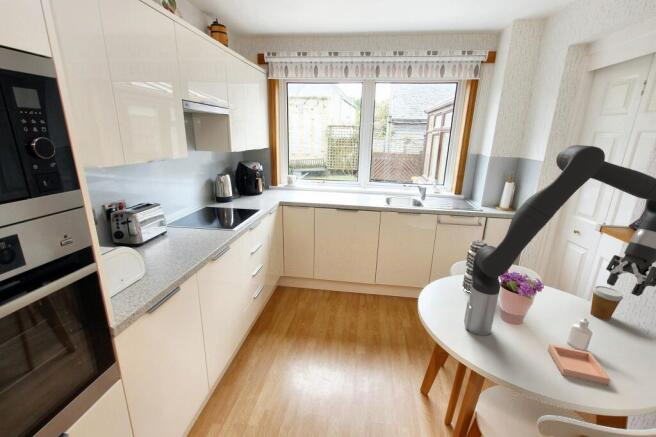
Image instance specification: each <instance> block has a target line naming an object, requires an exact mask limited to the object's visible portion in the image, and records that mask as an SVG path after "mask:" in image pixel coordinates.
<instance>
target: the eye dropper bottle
mask: <svg viewBox="0 0 656 437" xmlns="http://www.w3.org/2000/svg"><path fill="white" fill-rule="evenodd" d="M589 324H590V322H589V321H588V318H587V317H586V316H585V317H584V318H583V319H582V318H581V319H579V322H578V323H574V324H572V325H571V327H570V331H569V335H568V337H567V340H566V342H567V344H568V345H570V346H571V347H572V348H573V349H576V350H581V351H586V352H587V350H588V348H589V345H590V343H591V340H592V336H593V332H592V330H591V329H590V328H589Z"/></svg>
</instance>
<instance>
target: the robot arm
mask: <svg viewBox="0 0 656 437" xmlns="http://www.w3.org/2000/svg"><path fill="white" fill-rule="evenodd" d="M555 159H556V160H555V161H556V166H557V167H558V168H559V170H561V172H560V174H559V175H558V176H557V177H556V178H555V179H554V180H553V181H552V182H551V183H549V184H548V185H546V187H544V188H542V189H540V190H538V191H537V192H535V193H534V194H533V195H531V196H530V197H528V198H527V199H526V200H525V201H524V203H522V204H521V206H520V207H519V208H518V209H517V210H516V212H515V213H514V215H513V217H512V218H511V220H510V222H509V223H510V224H509V226H508V229H507V232H506V234H505V236H504V238H502V240H501V242H500V243H499V244H498V245H497V246H493V245H488V246H484V247H482V248H480V249H479V250H478V251H477V253H476V255H475V258H474V264H473V271H472V288H471V293H469V300H467V302H466V309H465V312H464V318H463V319H464V320H463V322H464V323H463V324H464V328H465V330H466V331H470V332H471V333H472V334H476V335H479V336H488V335H490V334H491V332H492V328H493V324H494V318H495V314H496V310H497V309H496V308H497V304H498V301H499V297H500V291H501V284H500V279H499V277H501V276H503V275H505V274H506V273H507V272H508V271H509V270H510V269H511V267H512V266H513V264H514V263H515V261H516V260H517V259H518V258H519V256H520V254H522V252H523V251H524V249H525V248H527V246H528V244H530V242H532V240H533V239H534V238H535V237H536V235H537V234H539V232H540V231H541V230H542V229H543V228H544V227H545V226H546V225H547V223H549V222H550V220H551V219H553V217H554V216H555V214H557V212H558V211H559V210H561V208H562V207H563V206H564V205H565V203H567V201H569V199H570V198H571V197H572V196H573V195H574V194H575V193H576V192H577V191H578V190H579V189H580V188H581V187H583V186H584V185H585V184H586V183H587V182H588V181H589V180H590V179H592V180H595V181H598V182H600V183H603V184H606V185H608V186H610V187H612V188H614V189H617V190H619V191H622V192H624V193H626V194H629V195H630V196H634V197H636V198H638V199H642V200H645V204H644V206H645V207H644V211H643V212H644V213H643V219H642V220H641V222H640V224H639V226H638V228H637V230H636V231H635V232H634V233H633V235H632V237H631V239H630V241H629V242H628V244H627V246H626V248H625V250H624V256H623V257H622V256H620V255H617V254H615V255H613V257H612V258H611V259H610V262H609V263H608V264H607V266H606V268H605V269H606V271H608V272H609V275H608V277H607V279H606V284H607V285H609V286H613V287H614V286H616V284H617V281H618V279H619V278H620V276H621V275H623V274H627V273H629V274H630V275H631V274H632V275H634V277H635V278H636V283H635V285H634V287H633V289H632V290H631V293H630V294H631V295H633V296H636V297H640V296H641V295H643V293H644V291H645V290H646V287H653V288H654V287H656V266H654V265H653V264H655V263H656V177H654V176H651V175H648V174H647V173H644V172H641V171H638V170H636V169H632V168H628V167H625V166H621V165H618V164H614V163H612V162H608V161H605V159H606V154H605V152H604V150H603V149H601V148H600V147H598V146H593V145H583V144H582V145H581V144H577V145H576V144H575V145H569V146H566V147H564V148H563V149H561V150H560V151H559V153H558V154H557V156H556V158H555Z"/></svg>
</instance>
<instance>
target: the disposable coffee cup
mask: <svg viewBox="0 0 656 437" xmlns="http://www.w3.org/2000/svg"><path fill="white" fill-rule="evenodd" d="M623 299H624V297H623V293H622V292H621V291H619V290H617V289H614V288H612V287H609V286H604V285H595V286H594V288H592V299H591V306H590V315H591V316H593V317H594V318H597V319H600V320H603V321H611V318H612V316H613V314H614V313H615V311H616V309H617V308H618V306H619V304H620V302H621V301H622V300H623Z"/></svg>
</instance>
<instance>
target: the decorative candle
mask: <svg viewBox="0 0 656 437" xmlns="http://www.w3.org/2000/svg"><path fill="white" fill-rule="evenodd" d="M484 246H489V245H488V243H487V242H486V241H483V240H474V241H472V242H470V247H469V250H468V251H467V254H466V262H465V263H466V264H465V267H466V269H465V272H464V275H463V276H464V277H463V281H462V287H464V289H466V290H467V291H470V292H471V288H472V271H473V264H474V258H475V255H476V253H477V251H478V250H479V249H480V248H482V247H484Z"/></svg>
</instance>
